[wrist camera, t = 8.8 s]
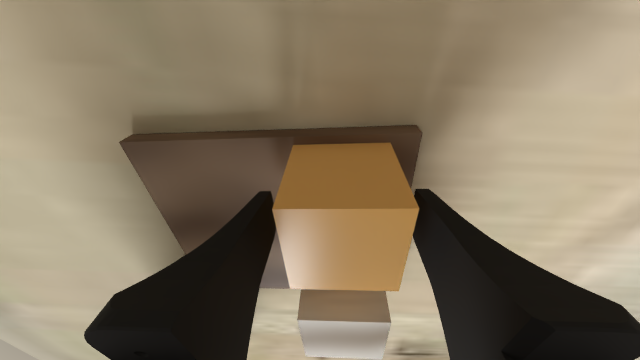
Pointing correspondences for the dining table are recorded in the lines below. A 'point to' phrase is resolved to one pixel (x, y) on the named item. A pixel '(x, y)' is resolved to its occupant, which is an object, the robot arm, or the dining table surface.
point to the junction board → (266, 175)
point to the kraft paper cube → (344, 217)
